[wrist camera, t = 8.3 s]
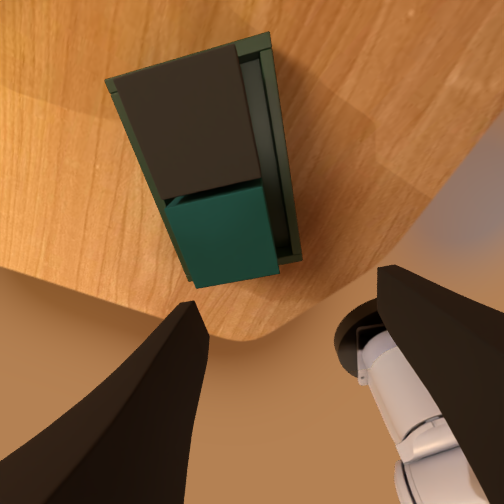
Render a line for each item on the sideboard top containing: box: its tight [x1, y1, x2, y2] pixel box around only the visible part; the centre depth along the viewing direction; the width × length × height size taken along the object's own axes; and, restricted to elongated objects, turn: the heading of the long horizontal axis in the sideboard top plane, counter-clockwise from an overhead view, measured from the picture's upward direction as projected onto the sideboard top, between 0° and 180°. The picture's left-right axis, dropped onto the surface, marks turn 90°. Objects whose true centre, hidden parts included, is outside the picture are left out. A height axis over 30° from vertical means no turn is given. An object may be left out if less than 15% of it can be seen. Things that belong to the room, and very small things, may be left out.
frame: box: [104, 31, 303, 282], centre depth 15 cm, size 12×8×2 cm
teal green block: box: [164, 177, 280, 289], centre depth 15 cm, size 5×5×4 cm
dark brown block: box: [113, 44, 261, 200], centre depth 12 cm, size 5×5×4 cm
